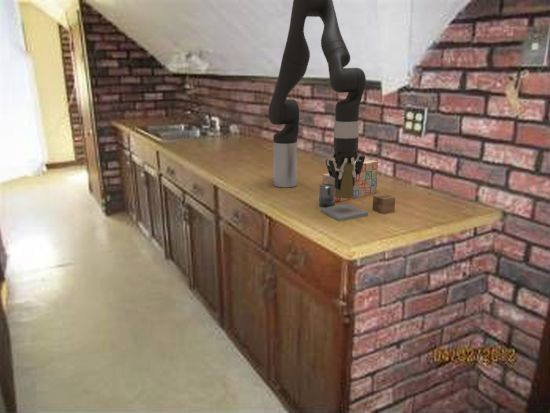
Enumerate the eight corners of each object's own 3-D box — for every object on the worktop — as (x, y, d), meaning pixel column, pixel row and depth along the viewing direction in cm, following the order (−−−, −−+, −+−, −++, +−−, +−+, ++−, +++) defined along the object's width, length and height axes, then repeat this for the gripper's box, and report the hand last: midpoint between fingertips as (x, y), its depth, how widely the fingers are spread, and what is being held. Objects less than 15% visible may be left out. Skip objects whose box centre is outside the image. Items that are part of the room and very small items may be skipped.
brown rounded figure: (357, 197, 150) (358, 163, 146) (340, 199, 148) (341, 164, 144) (348, 192, 155) (349, 159, 152) (331, 194, 153) (332, 160, 150)
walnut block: (372, 210, 157) (373, 195, 155) (384, 207, 159) (385, 193, 157) (382, 214, 152) (383, 199, 151) (394, 211, 155) (395, 197, 153)
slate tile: (320, 211, 155) (320, 208, 155) (347, 206, 160) (347, 203, 160) (339, 221, 146) (339, 218, 146) (368, 215, 151) (368, 212, 151)
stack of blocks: (333, 203, 164) (334, 169, 160) (321, 199, 169) (322, 165, 165) (376, 193, 176) (378, 160, 172) (364, 189, 181) (366, 158, 177)
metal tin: (316, 204, 163) (316, 185, 161) (328, 202, 165) (329, 183, 163) (324, 208, 158) (324, 188, 156) (336, 206, 161) (337, 186, 158)
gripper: (357, 132, 152) (355, 183, 157) (320, 135, 146) (319, 189, 151) (372, 135, 146) (369, 188, 151) (334, 139, 139) (332, 195, 144)
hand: (344, 188), depth 151 cm, fingers closed on brown rounded figure, 4 cm apart
